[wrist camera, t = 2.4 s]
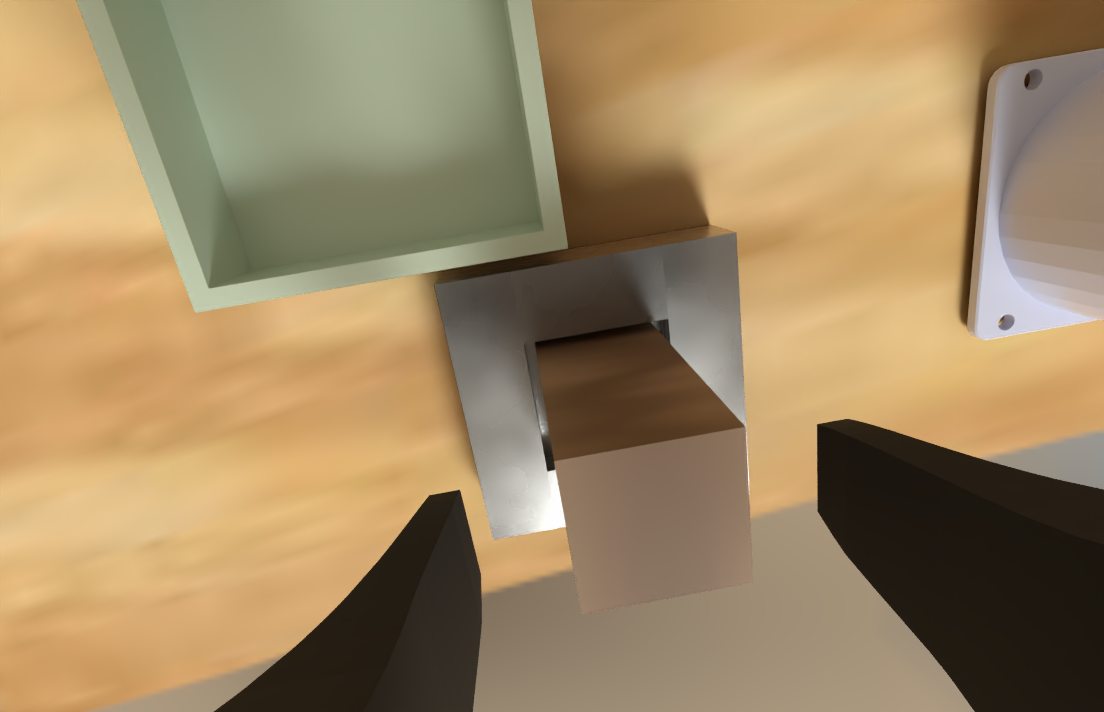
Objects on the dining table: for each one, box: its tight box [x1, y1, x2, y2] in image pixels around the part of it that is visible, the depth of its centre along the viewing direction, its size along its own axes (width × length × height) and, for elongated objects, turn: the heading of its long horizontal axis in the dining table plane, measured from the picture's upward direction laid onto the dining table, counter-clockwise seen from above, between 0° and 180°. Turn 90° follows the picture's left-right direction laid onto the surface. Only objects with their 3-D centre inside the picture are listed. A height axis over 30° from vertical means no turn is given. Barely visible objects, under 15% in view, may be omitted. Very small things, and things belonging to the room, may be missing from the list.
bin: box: [76, 0, 568, 313], centre depth 14 cm, size 9×9×3 cm
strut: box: [535, 322, 753, 614], centre depth 14 cm, size 3×3×7 cm
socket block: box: [434, 225, 749, 540], centre depth 17 cm, size 8×8×2 cm
